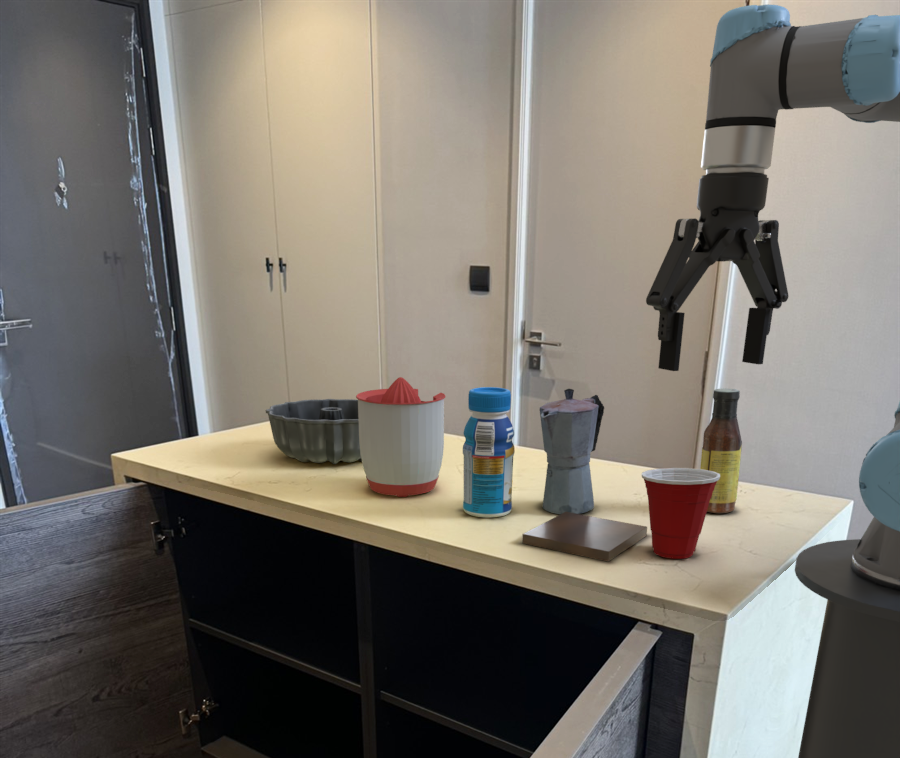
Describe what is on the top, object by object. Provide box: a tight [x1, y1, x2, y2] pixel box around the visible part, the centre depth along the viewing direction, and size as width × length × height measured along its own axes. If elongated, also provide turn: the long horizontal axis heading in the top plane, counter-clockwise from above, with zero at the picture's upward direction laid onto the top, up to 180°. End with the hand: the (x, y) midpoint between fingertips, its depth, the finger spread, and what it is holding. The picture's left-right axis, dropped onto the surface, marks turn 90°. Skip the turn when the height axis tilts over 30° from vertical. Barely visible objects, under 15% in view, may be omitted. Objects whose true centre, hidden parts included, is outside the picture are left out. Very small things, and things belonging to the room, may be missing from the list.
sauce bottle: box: [699, 388, 743, 514], centre depth 142 cm, size 7×6×20 cm
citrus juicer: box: [355, 376, 446, 498], centre depth 154 cm, size 16×17×20 cm
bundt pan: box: [265, 398, 362, 465], centre depth 179 cm, size 26×26×10 cm
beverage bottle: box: [462, 386, 515, 519], centre depth 140 cm, size 8×8×20 cm
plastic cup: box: [641, 467, 720, 560], centre depth 123 cm, size 11×11×12 cm
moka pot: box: [539, 388, 605, 515], centre depth 143 cm, size 10×15×20 cm, turn 137°
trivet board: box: [521, 512, 648, 562], centre depth 131 cm, size 14×14×2 cm
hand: (711, 366), depth 105 cm, fingers open, 13 cm apart
